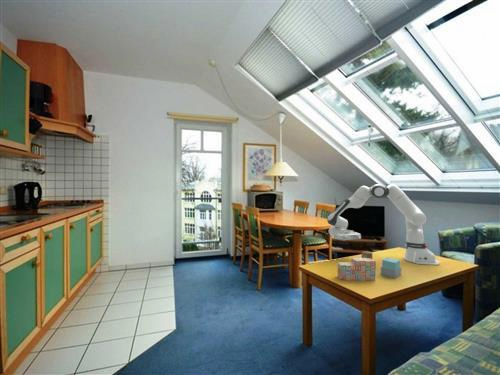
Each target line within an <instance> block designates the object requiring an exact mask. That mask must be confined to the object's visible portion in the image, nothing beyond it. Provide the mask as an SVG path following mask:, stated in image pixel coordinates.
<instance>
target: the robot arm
mask: <svg viewBox="0 0 500 375" xmlns="http://www.w3.org/2000/svg"><path fill="white" fill-rule="evenodd" d="M371 197H373V198H374V199H375V198H376V199H383V198H386V197H387V198H388V199H389V200H390V201H391V203H392V204H393V205H394V206H395V207H396V209H397V210H398V211H400V213H402V214H403V216H404V217H405V218H404V219H405V229H406V230H405V231H406V240H405V251H404V252H405V254H404V256H403V259H404V260H405V261H407V262H410V263H414V264H418V265H420V264H421V265H428V266H429V265H432V266H439V265H440V261H439V260H437V259H436V255H435V254H434V253H433V252H432V251H431V250H430V249H428V247H429V244H427V243H424V237H425V236H424V230H423V225H425V224H426V222H427V219H428V218H427V216H426V214H425V213H424V212H423V211H422V210H421V208H419V207H418V206H417V205H416V204H415V203H414V202H413V201H412V200H411V198H409V196H408V195H407V194H406V193H405V192H404V191H403V190H402V189H401V187H398V186H397V185H396V184H389V185H387V186H385V185H382V184H379V183H378V184H377V183H376V184H373V185H371V186H366V185H361V186H359V187H358V188H357V190H356V191H355V192H354V193H353V194H352V195H351V197H349V198H346V199H345V200H343V201H342V202H341V203H340V204H339V205H338V206H337V207H336V208H335V209H334V210H333V211H332V212H331V213H330V214H329V215H328V216H327V218H326V220H327V223H328V224H329V225H331V226H330V227H329V229H328V234H329V235H330V236H331V237H332V238H333V237H334V238H335V239H337V240H340V241H346V240H348V241H351V240H357V239H358V240H361V239H362V235H361V233H359V232H356V231H354V230H351V229H348V227H349V222H348V219H346V218H344V217H342V216H340V215H341V214H342V213H344V211H345V210H347V209H349V208H350V209H351V208H353V209H360V208H362V207H363V206H364V205H365V204H366V202H367V201H368V199H369V198H371Z"/></svg>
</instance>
